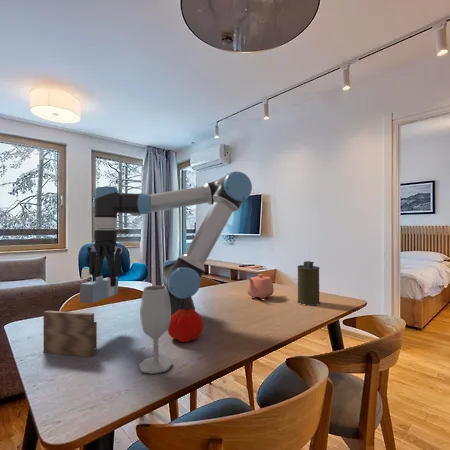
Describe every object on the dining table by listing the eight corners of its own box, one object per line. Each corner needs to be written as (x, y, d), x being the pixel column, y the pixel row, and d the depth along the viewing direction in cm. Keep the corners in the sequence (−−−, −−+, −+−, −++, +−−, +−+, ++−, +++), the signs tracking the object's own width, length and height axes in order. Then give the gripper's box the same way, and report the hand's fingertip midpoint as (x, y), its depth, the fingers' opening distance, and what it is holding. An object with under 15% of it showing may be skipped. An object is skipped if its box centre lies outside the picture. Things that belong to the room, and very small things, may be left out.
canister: (324, 303, 140) (324, 261, 140) (310, 306, 134) (309, 263, 134) (306, 298, 149) (306, 259, 149) (292, 302, 143) (292, 261, 143)
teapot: (260, 292, 164) (260, 271, 164) (279, 295, 156) (279, 273, 156) (239, 299, 148) (239, 276, 148) (258, 303, 141) (258, 278, 141)
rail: (118, 293, 108) (118, 277, 108) (90, 303, 94) (91, 284, 94) (108, 293, 109) (108, 277, 109) (79, 302, 95) (80, 284, 95)
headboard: (103, 348, 89) (103, 309, 89) (90, 356, 83) (90, 314, 84) (58, 344, 92) (58, 306, 92) (43, 352, 87) (43, 311, 87)
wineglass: (142, 360, 81) (142, 284, 81) (174, 358, 82) (173, 284, 82) (135, 375, 73) (135, 291, 73) (170, 374, 73) (170, 290, 73)
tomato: (170, 332, 102) (170, 307, 102) (205, 333, 102) (204, 307, 102) (163, 345, 91) (163, 316, 92) (201, 345, 91) (201, 316, 91)
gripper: (132, 229, 106) (132, 294, 106) (92, 229, 110) (91, 291, 110) (120, 229, 99) (119, 299, 98) (77, 229, 103) (76, 295, 102)
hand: (104, 294), depth 104 cm, fingers closed on rail, 4 cm apart
